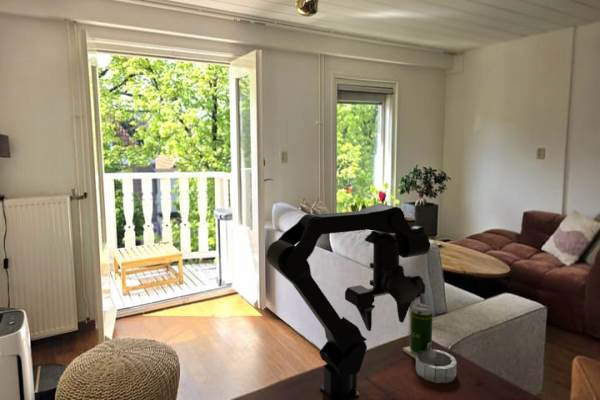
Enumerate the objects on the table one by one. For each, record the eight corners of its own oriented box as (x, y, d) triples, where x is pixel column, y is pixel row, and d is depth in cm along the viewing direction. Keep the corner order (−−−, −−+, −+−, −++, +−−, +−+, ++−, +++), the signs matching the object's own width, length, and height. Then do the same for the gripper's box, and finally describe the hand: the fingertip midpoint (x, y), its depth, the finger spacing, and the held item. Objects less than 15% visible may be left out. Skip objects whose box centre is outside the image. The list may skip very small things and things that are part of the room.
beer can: (433, 349, 110) (435, 305, 108) (427, 358, 105) (429, 312, 103) (413, 344, 112) (414, 301, 111) (407, 352, 108) (408, 308, 106)
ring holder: (434, 386, 94) (435, 372, 94) (408, 367, 102) (408, 354, 102) (463, 377, 98) (464, 363, 98) (436, 359, 106) (436, 346, 106)
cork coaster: (419, 362, 105) (419, 359, 105) (402, 350, 111) (403, 347, 110) (439, 356, 107) (439, 353, 107) (422, 345, 113) (422, 342, 113)
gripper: (373, 277, 82) (373, 351, 84) (444, 263, 90) (441, 331, 92) (343, 262, 92) (343, 329, 94) (409, 251, 100) (408, 313, 102)
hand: (385, 326), depth 96 cm, fingers open, 9 cm apart
